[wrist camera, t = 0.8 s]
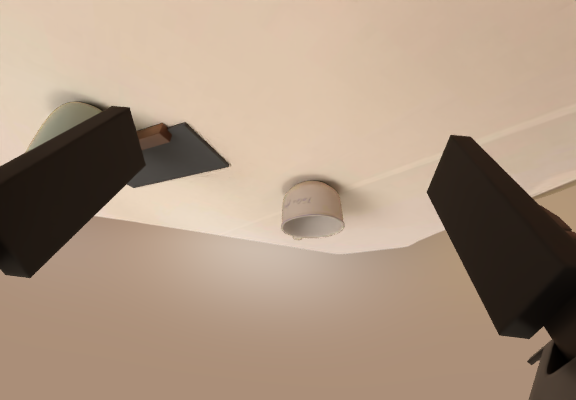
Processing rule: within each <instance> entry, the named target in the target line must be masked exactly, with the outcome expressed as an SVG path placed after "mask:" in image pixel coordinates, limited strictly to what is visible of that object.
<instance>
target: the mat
mask: <svg viewBox="0 0 576 400" xmlns="http://www.w3.org/2000/svg"><path fill="white" fill-rule="evenodd" d="M167 131H169V132H170V133H171V134H172V137H171V140H170V142H168V143H165V144H161V145H158V146H155V147H151V148H148V149H144V150H142V153H143V156H144V160H145V163H146V166H145V167H144V168H143V169H142V170H141V171H140V172H138V173H137V174H136V175H135V176H134V177H133V178H132V179H131V180H130V181H129V182H128V183H127V185H129V186H131V187H133V188H136V187H140V186H145V185H149V184H154V183H158V182H163V181H167V180H172V179H176V178H181V177H185V176H190V175H194V174H199V173H203V172H208V171H212V170H217V169H221V168H226V167H229V164H228V163H227V162H226V161H225V160H224V159H223V158H222V157H221V156H220V155H219V154H218V153H217V152H216V151H214V150H213V149H212V148H211V147H210V146H209V145H208V144H207V143H206V142H205V141H204V140H203V139H202V138H201V137H200V136H199V135H198V134H197V133H196V132H194V131H193V130H192V129H191V128H190V127H189V126H188V125H187V124H186V123H185V122H184V123H181V124H178V125H175V126H172V127H169V128H168V129H167Z"/></svg>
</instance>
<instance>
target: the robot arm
mask: <svg viewBox="0 0 576 400" xmlns="http://www.w3.org/2000/svg"><path fill="white" fill-rule="evenodd" d="M145 166H146V163H145V160H144V156H143V153H142V149H141V146H140V142H139V139H138V135H137V132H136V128H135V125H134V122H133V118H132V115H131V111H130V108H128V107H117V106H111V107H109V108H107V109H106V110H104V111H102V112H100V113H98V114H96V115H95V116H93V117H91V118H89V119H87V120H85V121H83V122H82V123H80V124H78V125H76V126H74V127H72V128H70V129H69V130H67V131H65V132H63V133H61V134H59V135H58V136H56V137H54V138H52V139H50V140H48V141H46V142H45V143H43V144H41V145H39V146H37V147H35V148H33V149H32V150H30V151H28V152H26V153H24V154H22V155H21V156H19V157H17V158H15V159H13V160H11V161H9V162H8V163H6V164H4V165H2V166H0V269H1V270H2V272H3V273H4V274H5V275H10V276H18V277H26V278H31V277H32V276H33V275H34V274H35V272H37V271H38V270H39V269H40V268H41V267H42V266H43V265H44V264H45V263H46V262H47V261H48V260H49V259H50V258H51V257H52V256H53V255H54V254H55V253H56V252H57V251H58V250H59V249H60V248H61V247H63V246H64V245H65V244H66V243H67V242H68V241H69V240H70V239H71V238H72V237H73V236H74V235H75V234H76V233H77V232H78V231H79V230H80V229H81V228H82V227H83V226H84V225H85V224H86V223H87V222H88V221H89V220H90V219H91V218H92V217H93V216H94V215H95V214H96V213H97V212H98V211H99V210H101V209H102V208H103V207H104V206H105V205H106V204H107V203H108V202H109V201H110V200H111V199H112V198H113V197H114V196H115V195H116V194H117V193H118V192H119V191H120V190H121V189H122V188H123V187H124V186H125V185H126V184H127V183H128V182H129V181H130V180H131V179H132V178H133V177H134V176H135V175H136V174H137V173H138V172H140V171H141V170H142V169H143V168H144V167H145ZM427 194H428V196H429V198H430V200H431V202H432V204H433V206H434V208H435V210H436V212H437V214H438V215H439V217H440V219H441V221H442V223H443V225H444V227H445V229H446V231H447V233H448V235H449V237H450V239H451V241H452V243H453V245H454V247H455V249H456V251H457V253H458V255H459V257H460V259H461V260H462V262H463V265H464V267H465V269H466V270H467V273H468V275H469V276H470V278H471V281H472V282H473V284H474V286H475V288H476V290H477V292H478V294H479V296H480V298H481V300H482V302H483V304H484V306H485V308H486V310H487V312H488V314H489V316H490V318H491V320H492V322H493V324H494V326H495V328H496V330H497V332H498V334H499V335H501V336H509V337H518V338H526V339H530V338H531V337H532V336H533V335H534V334H535V333H536V332H538V331H539V330H540V329H541V328H542V327H543V326H544V327H545V329H546V330H547V331H548V333H549V335H550V336H551V338H552V340H551V341H550V342H548V343H547V344H546V345H545V346H544V347H542V348H541V349H540V350H539V351H538V352H537V353H535V354H534V355H533V356H532V357H531V358H530V359H529V360H528V361H527V362H528V363H530V364H531V365H532V364H534V363H535V362H536V361H538V360H540V363H539V366H538V370H537V373H536V376H535V380H534V383H533V387H532V390H531V394H530V397H529V400H576V233H575V232H572V231H571V230H572V229H571V228H570V227H569V226H568V225H567V224H566V223H565V222H564V221H562V220H561V219H560V218H559V217H558V216H557V215H555V214H553V213H551V212H550V211H549V210H547V209H545V208H544V207H542V206H540V205H538V204H537V203H536V202H535V201H534V200H533V199H532V198H531V197H530V196H529V195H528V194H527V193H526V192H525V191H524V190H523V189H522V188H521V187H520V186H519V185H518V184H517V183H516V182H515V181H514V180H513V179H512V178H511V177H510V176H509V175H508V174H507V173H506V172H505V171H504V170H503V169H502V168H501V167H500V166H499V165H498V164H497V163H496V162H495V161H494V160H493V159H492V158H491V157H490V156H489V155H488V154H487V153H486V152H485V151H484V150H483V149H482V148H481V147H480V146H479V145H478V144H477V143H476V142H475V141H474V140H473V139H472V138H471V137H467V136H456V135H450V138H449V140H448V142H447V145H446V147H445V150H444V152H443V154H442V157H441V159H440V162H439V164H438V166H437V169H436V171H435V174H434V176H433V178H432V181H431V183H430V186H429V188H428V190H427Z"/></svg>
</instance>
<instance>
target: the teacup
mask: <svg viewBox="0 0 576 400" xmlns="http://www.w3.org/2000/svg"><path fill="white" fill-rule="evenodd" d="M281 229H282V231H283V232H284V233H286V234H288V235H291V236H293V239H295V240H301V239H302V238H323V237H328V236H332V235H335V234H337V233H339V232H341V231H342V230H343V229H344V222H343V214H342V206H341V201H340V197H339V195H338V193H337V192H336V191H335V189H333V188H332V187H330V186H328V185H327V184H325V183H323V182H319V181H305V182H302V183H299V184H297V185H296V186H294V187H293V188H291V189H290V190H289V191H288V192H287V193H286V194H285V196H284V199H283V205H282V225H281Z"/></svg>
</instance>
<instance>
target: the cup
mask: <svg viewBox="0 0 576 400" xmlns="http://www.w3.org/2000/svg"><path fill="white" fill-rule="evenodd" d="M100 112H102V110H100V109H98V108H96V107H94V106H92V105H89V104H86V103H82V102H69V103H65V104H63V105H61V106H60V107H58V108H57V109H55V110H54V111H53V112H52V113H51V114H50V115H49V116H48V118H47V119H46V120H45V122H44V123H43V124H42V126H41V127H40V129H39V130H38V132H37V133H36V135H35V137H34V138H33V140H32V142H31V143H30V145H29V147H28V148H27V150H26V152H28V151H30V150H32V149H33V148H35V147H37V146H39V145H41V144H43V143H45V142H46V141H48V140H50V139H52V138H54V137H56V136H58V135H59V134H61V133H63V132H65V131H67V130H69V129H70V128H72V127H74V126H76V125H78V124H80V123H82V122H83V121H85V120H87V119H89V118H91V117H93V116H95V115H96V114H98V113H100ZM26 152H25V153H26Z"/></svg>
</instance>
